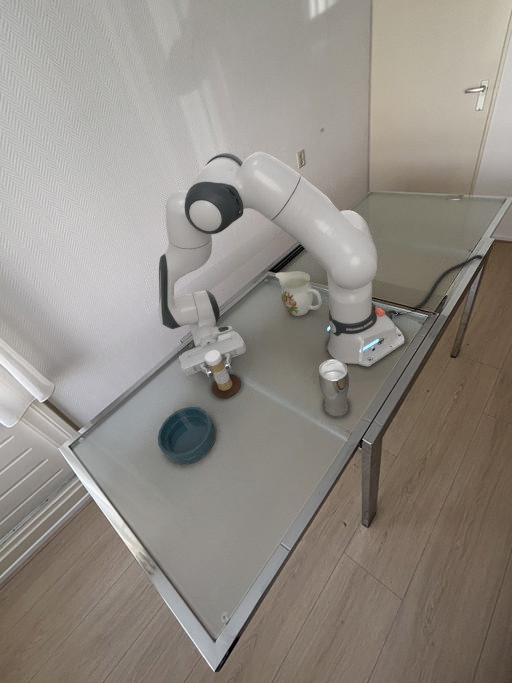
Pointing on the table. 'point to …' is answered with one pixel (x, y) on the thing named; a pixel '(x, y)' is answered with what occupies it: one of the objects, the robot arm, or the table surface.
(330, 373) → the silver metal tumbler
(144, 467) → the table surface
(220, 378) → the sprinkles bottle
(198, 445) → the bowl
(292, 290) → the pitcher
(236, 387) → the coaster
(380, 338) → the robot arm
